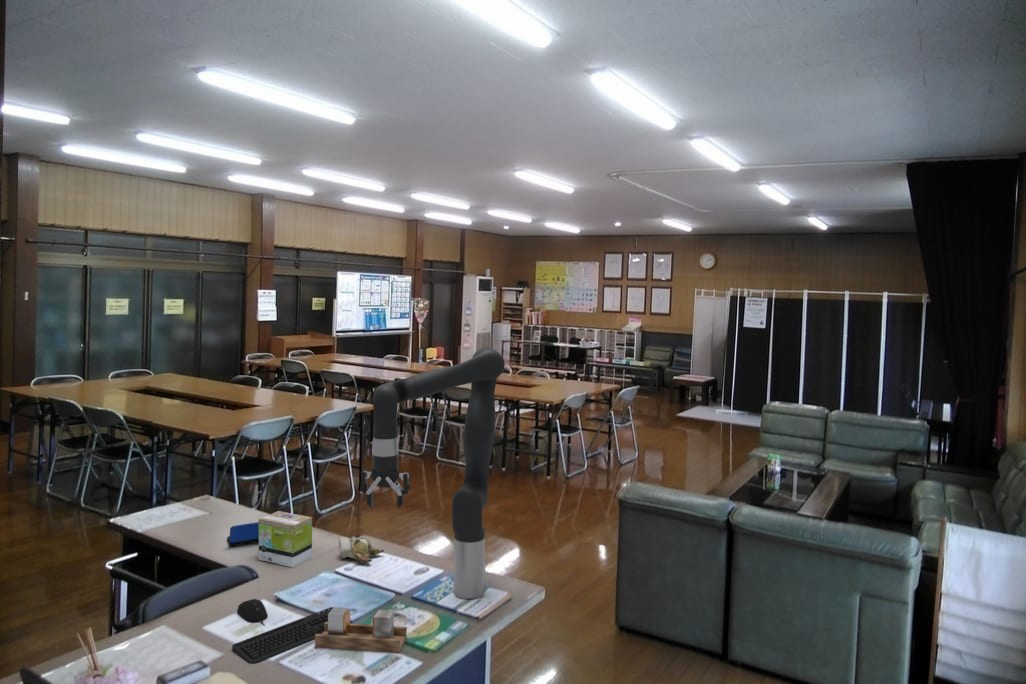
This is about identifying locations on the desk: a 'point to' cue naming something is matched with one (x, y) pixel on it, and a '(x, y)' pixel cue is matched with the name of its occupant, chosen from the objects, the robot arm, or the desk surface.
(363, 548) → the ceramic sculpture
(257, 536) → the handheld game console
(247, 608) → the gaming mouse
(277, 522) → the tea box
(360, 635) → the rail
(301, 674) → the desk surface
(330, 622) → the gray metallic block
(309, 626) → the keyboard
